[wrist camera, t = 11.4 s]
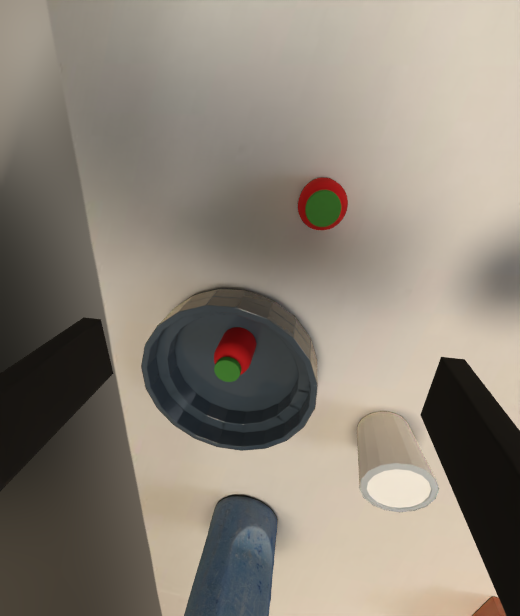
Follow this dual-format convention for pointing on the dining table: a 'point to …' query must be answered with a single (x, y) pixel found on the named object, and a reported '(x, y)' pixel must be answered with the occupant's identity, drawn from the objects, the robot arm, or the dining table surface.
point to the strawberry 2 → (322, 204)
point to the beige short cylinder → (393, 464)
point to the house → (491, 608)
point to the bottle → (236, 561)
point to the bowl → (249, 386)
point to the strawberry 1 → (234, 354)
